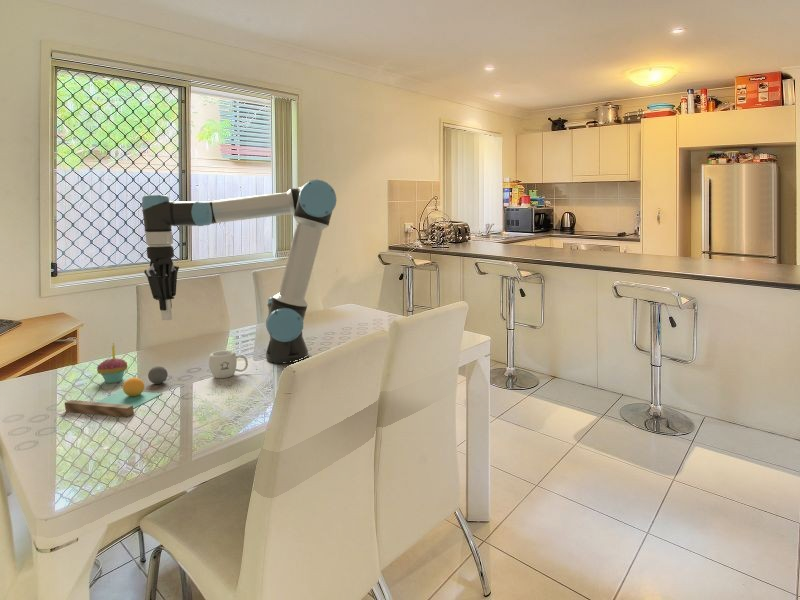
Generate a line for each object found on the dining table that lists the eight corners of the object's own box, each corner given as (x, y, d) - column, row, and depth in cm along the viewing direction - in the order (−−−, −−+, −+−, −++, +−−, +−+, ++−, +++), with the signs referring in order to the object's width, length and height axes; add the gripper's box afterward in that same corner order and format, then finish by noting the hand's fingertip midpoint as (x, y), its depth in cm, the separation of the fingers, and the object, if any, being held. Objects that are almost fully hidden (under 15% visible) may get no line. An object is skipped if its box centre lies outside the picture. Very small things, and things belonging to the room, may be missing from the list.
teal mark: (162, 394, 143) (162, 393, 143) (125, 412, 129) (125, 412, 129) (122, 390, 146) (122, 390, 146) (82, 408, 132) (82, 408, 132)
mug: (210, 381, 153) (208, 358, 152) (210, 373, 161) (208, 351, 159) (249, 376, 157) (248, 353, 156) (247, 369, 165) (246, 347, 164)
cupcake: (107, 376, 159) (103, 341, 157) (134, 375, 160) (130, 340, 158) (93, 385, 151) (88, 348, 149) (121, 384, 151) (117, 347, 149)
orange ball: (144, 374, 141) (132, 387, 137) (151, 388, 144) (139, 401, 139) (128, 373, 142) (115, 385, 138) (135, 387, 145) (123, 399, 141)
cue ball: (157, 366, 148) (157, 384, 148) (171, 365, 153) (171, 383, 153) (144, 366, 150) (143, 384, 150) (158, 365, 155) (157, 382, 155)
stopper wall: (133, 414, 128) (132, 405, 128) (128, 417, 126) (127, 408, 126) (72, 408, 132) (71, 399, 132) (65, 411, 131) (64, 402, 130)
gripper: (164, 244, 157) (170, 315, 161) (133, 246, 144) (141, 323, 148) (184, 244, 155) (190, 316, 159) (155, 247, 143) (162, 324, 147)
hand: (167, 319), depth 154 cm, fingers closed
